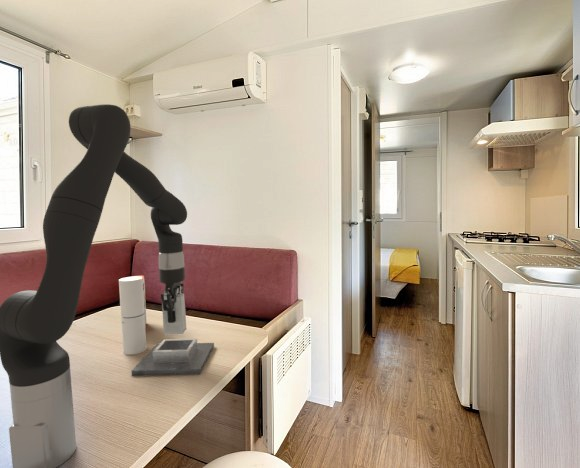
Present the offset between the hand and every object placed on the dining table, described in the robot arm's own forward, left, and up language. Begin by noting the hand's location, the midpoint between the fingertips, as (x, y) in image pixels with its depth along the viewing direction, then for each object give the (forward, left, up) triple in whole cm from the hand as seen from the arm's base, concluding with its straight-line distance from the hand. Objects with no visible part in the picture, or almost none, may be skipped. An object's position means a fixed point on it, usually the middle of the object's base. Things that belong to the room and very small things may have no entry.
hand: (174, 319), depth 101 cm
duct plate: (0, 0, -13) cm, 13 cm away
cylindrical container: (+8, +17, -14) cm, 23 cm away
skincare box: (0, 0, -4) cm, 4 cm away
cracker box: (+26, +24, -14) cm, 38 cm away
